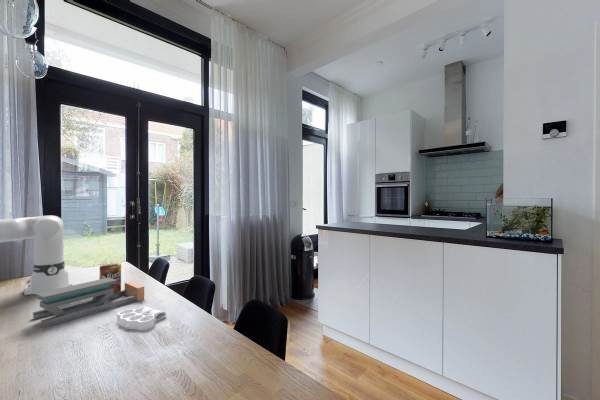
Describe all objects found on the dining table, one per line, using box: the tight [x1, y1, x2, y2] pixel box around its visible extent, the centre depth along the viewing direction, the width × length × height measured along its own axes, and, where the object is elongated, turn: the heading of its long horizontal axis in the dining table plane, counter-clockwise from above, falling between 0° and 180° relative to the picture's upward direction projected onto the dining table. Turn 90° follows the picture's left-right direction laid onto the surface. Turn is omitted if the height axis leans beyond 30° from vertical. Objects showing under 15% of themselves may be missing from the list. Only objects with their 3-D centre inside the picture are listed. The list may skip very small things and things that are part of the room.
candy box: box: [98, 262, 122, 292], centre depth 134 cm, size 9×4×15 cm, turn 123°
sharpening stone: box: [35, 278, 116, 316], centre depth 114 cm, size 25×8×11 cm, turn 148°
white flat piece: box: [115, 305, 167, 331], centre depth 105 cm, size 3×18×15 cm
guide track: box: [32, 289, 139, 329], centre depth 117 cm, size 14×33×2 cm, turn 144°
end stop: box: [124, 281, 145, 302], centre depth 131 cm, size 14×3×6 cm, turn 54°
